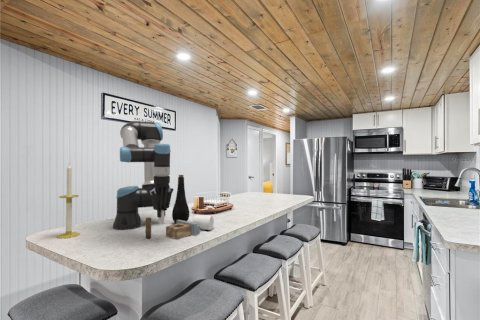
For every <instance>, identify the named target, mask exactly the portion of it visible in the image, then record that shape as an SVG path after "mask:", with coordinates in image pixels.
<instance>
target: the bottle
mask: <svg viewBox="0 0 480 320" xmlns="http://www.w3.org/2000/svg"><path fill="white" fill-rule="evenodd" d="M185 188H186V187H185V177H184V174H178V177H177V191H176V197H175V201H174V204H173V207H172V211H171V212H172V213H171V217H172V221H173V222H174V224H176V220H183V221H188V222H189V218H190V208H189V205H188V202H187V197H186V189H185Z"/></svg>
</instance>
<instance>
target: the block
mask: <svg viewBox="0 0 480 320" xmlns="http://www.w3.org/2000/svg"><path fill="white" fill-rule="evenodd" d="M165 236H166V237H169V238H172V239H176V240H179V239H183V238H186V237H189V236H192V235H191V225H187V224H182V223H177V224H175V223H174V224H170V225H165Z"/></svg>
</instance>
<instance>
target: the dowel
mask: <svg viewBox="0 0 480 320" xmlns="http://www.w3.org/2000/svg"><path fill="white" fill-rule="evenodd" d="M145 239H148V240H150V239H152V217H150V216H149V217H145Z"/></svg>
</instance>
